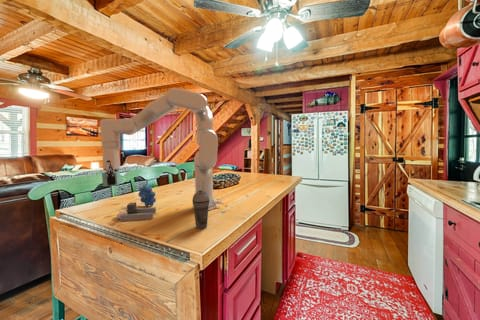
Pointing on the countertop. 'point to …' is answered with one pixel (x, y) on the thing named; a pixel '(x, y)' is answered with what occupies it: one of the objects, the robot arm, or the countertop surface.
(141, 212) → the channel
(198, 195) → the beverage cup
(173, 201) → the countertop surface
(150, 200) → the grapes
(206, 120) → the robot arm
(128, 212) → the plunger
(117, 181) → the block
